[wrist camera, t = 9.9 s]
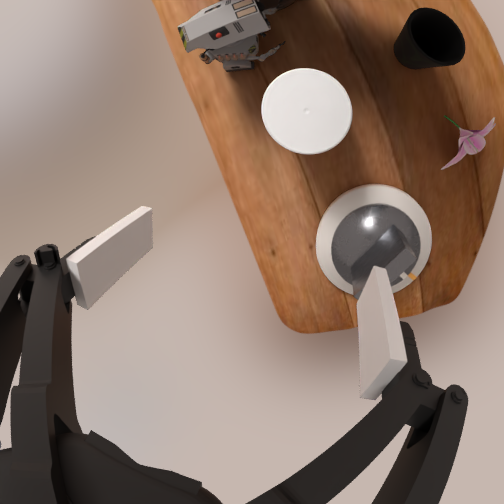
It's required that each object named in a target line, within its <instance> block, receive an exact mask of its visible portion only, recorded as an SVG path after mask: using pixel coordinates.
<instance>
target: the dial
mask: <svg viewBox="0 0 504 504" xmlns="http://www.w3.org/2000/svg"><path fill="white" fill-rule="evenodd" d="M420 249H421V242H420V236H419V232H418V230H417V227H416V226H415V224H414V222H413V221H412V219H411V218H410V217H409V216H408V215H407V214H406V213H405V212H404V211H402V210H400V209H399V208H397V207H394V206H392V205H388V204H382V203H375V204H368V205H364V206H361V207H359V208H357V209H355V210H353V211H352V212H350V213H349V214H348V215H346V216H345V217H344V218H343V219H342V221H341V222H340V223H339V225H338V226H337V228H336V230H335V232H334V234H333V238H332V243H331V255H332V261H333V264H334V266H335V269H336V270H337V272H338V274H339V275H340V276H341V277H342V278H343V279H344V280H345V281H346V282H348V283H349V284H351V285H353V296H354V297H355V298H356V299H358V300H359V298H360V295H361V293H362V291H363V289H364V287H365V284H366V282H367V280H368V278H369V275H370V273H371V271H372V268H373V266H377V267H381V268H384V269H386V271H387V274H388V278H389V281H390V285H391V287H392V286H394V285H396V284H398V283H399V282H401V281H402V280H403V279H405V278H406V277H407V276H408V275H409V274H410V273H411V271H412V270H413V268H414V267H415V265H416V263H417V261H418V258H419V255H420Z"/></svg>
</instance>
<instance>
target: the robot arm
mask: <svg viewBox="0 0 504 504" xmlns="http://www.w3.org/2000/svg"><path fill="white" fill-rule="evenodd" d="M220 1H223V0H220ZM295 1H296V0H259V2H262V3H263V4H264V6H265V9H264V10H267V9H271V8H275V7H277V5H278V4H283V5H284V6H285V7H287V6H289V5H291V4H292V3H294V2H295ZM283 5H279V7H283ZM285 7H284V8H285ZM280 9H283V8H280ZM280 9H278V10H280ZM278 10H276V11H278ZM152 239H153V238H152V208H148V207H144V206H142V207H140V208H139V209H136V210H135V211H133V212H132V213H130V214H129V215H128V216H126V217H124V218H123V219H121V220H120V221H118V222H117V223H115V224H114V225H112V226H111V227H109V228H108V229H106V230H105V231H103V232H102V233H101V234H99V235H98V236H95V237H92V238H90V239H87V240H86V241H84V242H83V243H82V244H81V245H79V246H77V247H76V249H73V250H72V251H70V252H69V253H68V254H66V255H65V256H64V257H63V258H61V259H60V257H59V252H58V247H57V246H56V245H53V244H46V245H43V246H41V247H39V248H38V249H36V251H35V252H34V254H35V258H36V262H37V265H33V264H31V260H30V257H29V256H27V255H20V256H17V257H16V258H14V259H13V260H12V261H11V262H10V264H9V265H8V266H7V268H6V269H5V271H4V272H3V274H2V275H1V277H0V425H1V422H2V419H3V415H4V412H5V408H6V403H7V399H8V395H9V392H10V388H11V384H12V381H13V377H14V374H15V371H16V368H17V365H18V362H19V359H20V356H21V365H20V379H19V385H18V386H13V388H12V390H11V442H12V448H7V449H3V450H0V504H222V503H221V501H220V500H219V499H218V498H217V497H216V496H215V495H213V494H212V493H211V492H209V491H208V490H207V489H205V488H203V487H202V482H200V481H197V480H194V479H191V478H188V477H186V476H183V475H180V474H178V473H175V472H173V471H168V470H163V469H157V468H153V467H147V466H143V465H140V464H138V463H136V462H135V461H134V460H133V459H131V458H130V457H129V456H128V455H127V454H126V453H124V452H123V451H122V450H121V449H120V448H119V447H118V446H116V445H115V444H113V443H112V442H110V441H109V440H107V439H105V438H103V437H102V436H100V435H98V434H97V433H95V432H93V431H92V430H91V431H90V433H89V435H87V434H83V433H82V430H81V427H80V425H79V423H78V420H77V415H76V407H75V398H74V387H73V375H72V351H71V350H72V349H71V325H72V302H71V299H72V298H73V297H74V296H75V297H76V301H77V304H78V305H79V306H81V307H83V308H85V309H87V310H88V309H89V308H90V307H91V306H92V305H93V304H94V303H95V302H96V301H97V300H98V299H99V298H100V297H101V296H102V295H103V294H104V293H105V292H106V291H107V290H108V289H109V288H110V287H111V286H112V285H114V284H115V283H116V282H117V281H118V280H119V279H120V278H121V277H122V276H123V275H124V274H125V273H126V272H127V271H128V270H129V269H130V268H131V267H132V266H133V265H134V264H136V263H137V262H138V261H139V260H140V259H141V258H142V257H143V256H144V255H145V254H146V253H147V252H149V251H150V250H151V249H152V248H153V240H152ZM18 294H20V298H19V300H18ZM357 317H358V334H359V359H360V398H364V399H371V400H376V399H377V397H378V396H379V395H380V394H381V393H382V400H381V401H380V402H379V403H378V404H377V405H376V406H375V407H374V408H373V409H372V410H371V411H370V412H369V413H368V414H367V415H366V416H365V417H364V418H363V419H362V420H361V421H360V422H359V423H358V424H356V425H355V426H354V427H353V428H352V429H351V430H350V431H349V432H347V433H346V434H345V435H344V436H343V437H342V438H341V439H339V440H338V441H337V442H336V443H335V444H334V445H332V446H331V447H330V448H328V449H327V450H326V451H325V452H323V454H321V455H320V456H318V457H317V458H316V459H314V460H313V461H312V462H311V463H309V464H308V465H306V466H305V467H304V468H302V469H301V470H299V471H298V472H297V473H295V474H294V475H292V476H291V477H289V478H288V479H286V480H285V481H283V482H282V483H280V484H279V485H277V486H275V487H273V488H272V489H270V490H268V491H267V492H265V493H263V494H262V495H260V496H258V497H257V498H255V499H253V500H251V501H250V502H248V503H246V504H326V503H328V502H329V501H330V500H331V499H332V498H334V497H335V496H336V495H337V494H338V493H340V492H341V491H342V490H343V489H344V488H345V487H346V486H347V485H349V484H350V483H351V482H352V481H353V480H354V479H355V478H356V477H357V476H358V475H359V474H360V473H361V472H362V471H363V470H364V469H365V468H366V467H367V466H368V465H369V464H370V463H371V462H372V461H373V460H374V459H375V458H376V457H377V456H378V455H379V454H380V453H381V451H383V449H384V448H385V447H386V446H387V445H388V444H389V443H390V441H392V439H393V438H394V437H395V436H396V434H397V433H398V432H399V431H400V430H401V429H402V427H403V426H404V425H405V424H407V425H409V426H411V428H410V431H409V433H408V435H407V438H406V440H405V442H404V445H403V447H402V449H401V451H400V453H399V455H398V457H397V459H396V461H395V463H394V465H393V467H392V469H391V471H390V473H389V475H388V477H387V478H386V480H385V482H384V484H383V486H382V487H381V489H380V491H379V492H378V494H377V496H376V497H375V499H374V501H373V502H372V504H438V503H439V501H440V499H441V496H442V494H443V491H444V489H445V486H446V483H447V481H448V478H449V475H450V472H451V469H452V466H453V463H454V459H455V456H456V452H457V449H458V446H459V442H460V438H461V434H462V430H463V426H464V421H465V416H466V411H467V406H468V396H467V394H466V392H465V391H464V389H463V388H461V387H460V386H458V385H450V386H449V387H448V388H447V389H446V390H443V389H441V388H439V387H437V386H435V385H433V384H432V379H431V377H430V375H429V374H428V373H427V372H426V371H424V370H423V369H421V364H420V359H419V354H418V350H417V347H416V341H415V337H414V333H413V330H412V329H411V327H410V325H409V324H408V323H406V322H402V321H399V317H398V313H397V309H396V305H395V301H394V297H393V293H392V289H391V285H390V281H389V278H388V274H387V271H386V269H384V268H381V267H377V266H373V268H372V271H371V273H370V275H369V278H368V280H367V282H366V284H365V287H364V289H363V291H362V293H361V295H360V298H359V300H358V302H357ZM21 353H22V354H21ZM0 448H1V442H0Z"/></svg>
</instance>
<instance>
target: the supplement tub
mask: <svg viewBox="0 0 504 504" xmlns="http://www.w3.org/2000/svg"><path fill="white" fill-rule="evenodd" d="M261 111H262V119H263V122H264V125H265V127H266V129H267V131H268V133H269V134H270V135H271V137H272V138H273V139H274V140H275V141H276V142H277V143H278V144H280V145H281V146H282V147H284V148H286V149H288V150H290V151H292V152H295V153H299V154H319V153H323V152H325V151H328V150H330V149H332V148H333V147H335V146H336V145H338V144H339V143H340V142H341V141H342V140H343V138H344V137H345V136H346V134H347V132H348V131H349V128H350V125H351V122H352V105H351V101H350V98H349V96H348V94H347V92H346V90H345V89H344V87H343V86H342V85H341V84H340V83H339V82H338V81H337V80H336V79H335V78H333V77H332V76H330V75H328V74H327V73H325V72H322V71H319V70H316V69H310V68H299V69H294V70H290V71H287V72H285V73H283V74H281V75H280V76H278V77H277V78H276V79H275V80H273V81H272V83H271V84H270V85H269V86H268V88H267V90H266V92H265V94H264V96H263V100H262V106H261Z"/></svg>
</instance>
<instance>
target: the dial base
mask: <svg viewBox="0 0 504 504" xmlns="http://www.w3.org/2000/svg"><path fill="white" fill-rule="evenodd" d="M375 203H382V204H388V205H392V206H394V207H397V208H399V209H400V210H402V211H404V212H405V213H406V214H407V215H408V216H409V217H410V218H411V219H412V221H413V222H414V224H415V226H416V227H417V230H418V232H419V236H420V242H421V249H420V255H419V258H418V261H417V263H416V265H415V267H414V268H413V270H412V271H411V273H410V274H409V275H408V276H407V277H406V278H405V279H403V280H402V281H401V282H399V283H398V284H396V285H394V286H392V287H391V289H392V293H395V292H397V291H399V290H401V289H403V288H405V287H406V286H407V285H409V284H410V283H411V282H412V281H414V280H415V279H416V278H417V276H418V275H419V274H420V273H421V271H422V270H423V268H424V266H425V264H426V263H427V260H428V258H429V255H430V251H431V245H432V233H431V227H430V224H429V221H428V218H427V216H426V214H425V212H424V211H423V209H422V208H421V207H420V205H419V204H418V203H417V202H416V201H415V200H414V199H413V198H412V197H411V196H410V195H408V194H407V193H406V192H404V191H402V190H400V189H398V188H396V187H393V186H390V185H386V184H366V185H361V186H358V187H355V188H352V189H350V190H348V191H346V192H344V193H343V194H341V195H340V196H339V197H337V198H336V199H335V200H334V201H333V202H332V203H331V204H330V205H329V207H328V208H327V209H326V211H325V212H324V214H323V216H322V218H321V220H320V223H319V226H318V230H317V237H316V253H317V258H318V262H319V264H320V267H321V269H322V271H323V272H324V274H325V275H326V277H327V278H328V279H329V280H330V281H331V282H332V283H333V284H334V285H335V286H337V287H338V288H339V289H341V290H343V291H345V292H347V293H349V294H352V295H353V285H351V284H349V283H348V282H346V281H345V280H344V279H343V278H342V277H341V276H340V275H339V274H338V272H337V270H336V269H335V266H334V264H333V261H332V255H331V243H332V238H333V234H334V232H335V230H336V228H337V226H338V225H339V223H340V222H341V221H342V219H343V218H344V217H345V216H346V215H348V214H349V213H350V212H352V211H353V210H355V209H357V208H359V207H361V206H364V205H368V204H375Z"/></svg>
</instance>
